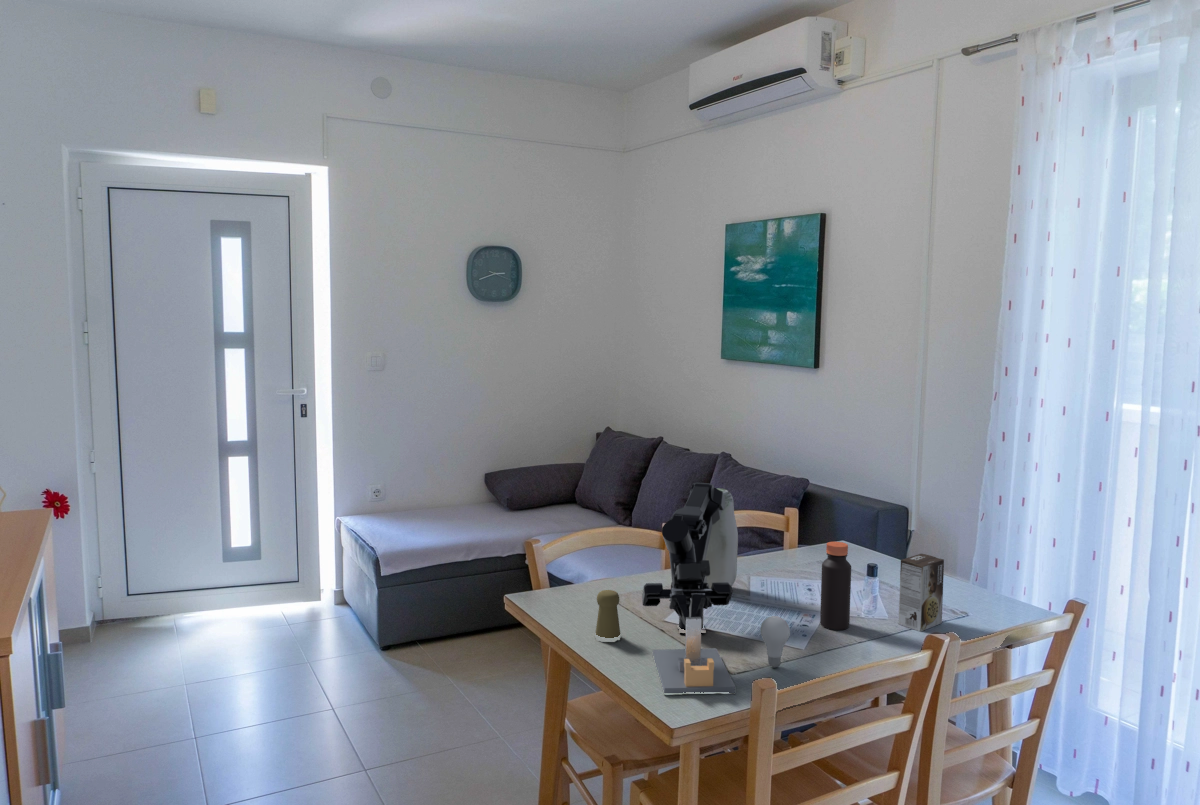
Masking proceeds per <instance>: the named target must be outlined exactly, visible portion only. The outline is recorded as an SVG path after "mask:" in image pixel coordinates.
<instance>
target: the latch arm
mask: <svg viewBox="0 0 1200 805" xmlns="http://www.w3.org/2000/svg"><path fill="white" fill-rule="evenodd" d="M684 649H685V659H689V660H690V662H691V666H698V665H700V659H701V649H702V634H701V617H686V634H685V648H684Z"/></svg>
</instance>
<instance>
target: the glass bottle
mask: <svg viewBox="0 0 1200 805" xmlns="http://www.w3.org/2000/svg"><path fill="white" fill-rule="evenodd" d="M716 489H718V490H720V491H722V492H723V494H724V496H725V509H724V510H722V513H721V517H720V519H719V520H718V521H717V522H716V523H715V524H713V525H712V530H711V535H710V540H709V545H708V550H707V555H706V560H709V564H710V575H709V576H706V578H707V583H708V584H709V588H710V589H711V586H712V583H720V582H728V583H729V584H730V585H731V587H732V586H733V585H734V583H735V582H736V579H737V572H738V548H739V545H738V544H739V533H738V526H737V520H736V516H735V508H734V506H735V505H734V498H733V495H732V493H731V492H730V491H729V490H727V489H725V488H719V487H718V488H716ZM732 588H733V587H732Z"/></svg>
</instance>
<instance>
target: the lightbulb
mask: <svg viewBox="0 0 1200 805" xmlns="http://www.w3.org/2000/svg"><path fill="white" fill-rule="evenodd" d="M759 632H760V636H761V637H762V641H763V642H764V644H765V647H766V655H767V662H768V663H767V664H768V665H769V666H771V668H777V667H779V666H781V661H782V660H781V659H782V656H783V650H784V647H785V645H786V643H787V642H788V640H789V638H790V635H791V629H790V625H789V624H788V622H787V620H785V619H784V618H783V617H780V616H776V615H772V616H768V617H767V618H765V619H764V620H763V622H761V625H760V630H759Z"/></svg>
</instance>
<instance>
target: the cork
mask: <svg viewBox="0 0 1200 805" xmlns="http://www.w3.org/2000/svg"><path fill="white" fill-rule="evenodd" d="M596 603H597V604H598V612H597V621H596V626H595V633H596V635H598V636H600V637H605V638H614V637H618V636H619V635H620V634H621V629H620V628H621V627H620V620H619V611H618V610H619V609H618V605H619V603H620V595H619V593H618V592H617V591H615V590H612V589H603V590H601V591H599V592H598V594H597V595H596Z"/></svg>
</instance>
